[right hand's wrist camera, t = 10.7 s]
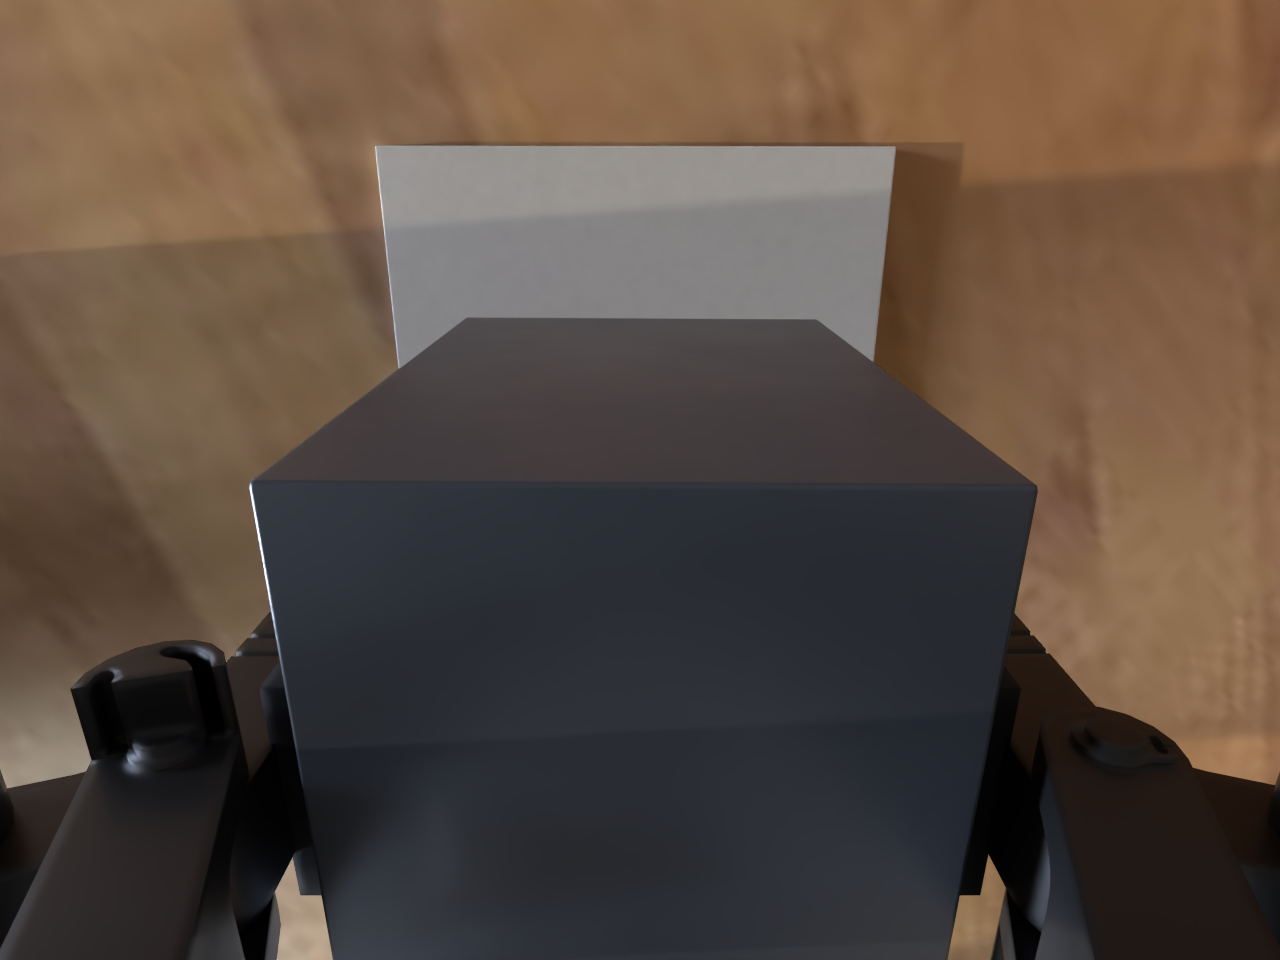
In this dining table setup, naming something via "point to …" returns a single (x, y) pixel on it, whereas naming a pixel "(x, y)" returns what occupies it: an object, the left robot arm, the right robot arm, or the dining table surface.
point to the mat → (635, 234)
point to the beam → (641, 646)
